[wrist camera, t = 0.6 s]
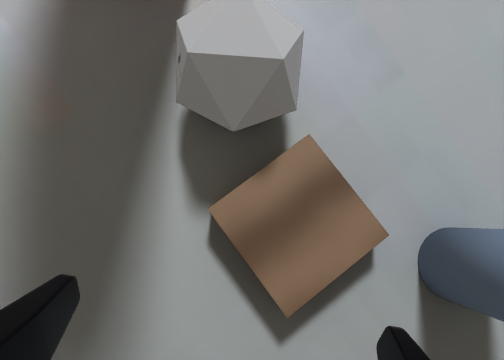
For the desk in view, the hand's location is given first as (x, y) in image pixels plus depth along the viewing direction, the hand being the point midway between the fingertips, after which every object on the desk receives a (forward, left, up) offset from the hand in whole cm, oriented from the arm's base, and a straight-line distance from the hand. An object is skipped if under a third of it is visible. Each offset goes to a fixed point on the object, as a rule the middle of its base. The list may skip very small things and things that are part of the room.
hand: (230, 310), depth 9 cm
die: (+10, -8, -14) cm, 19 cm away
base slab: (-1, -5, -14) cm, 15 cm away
